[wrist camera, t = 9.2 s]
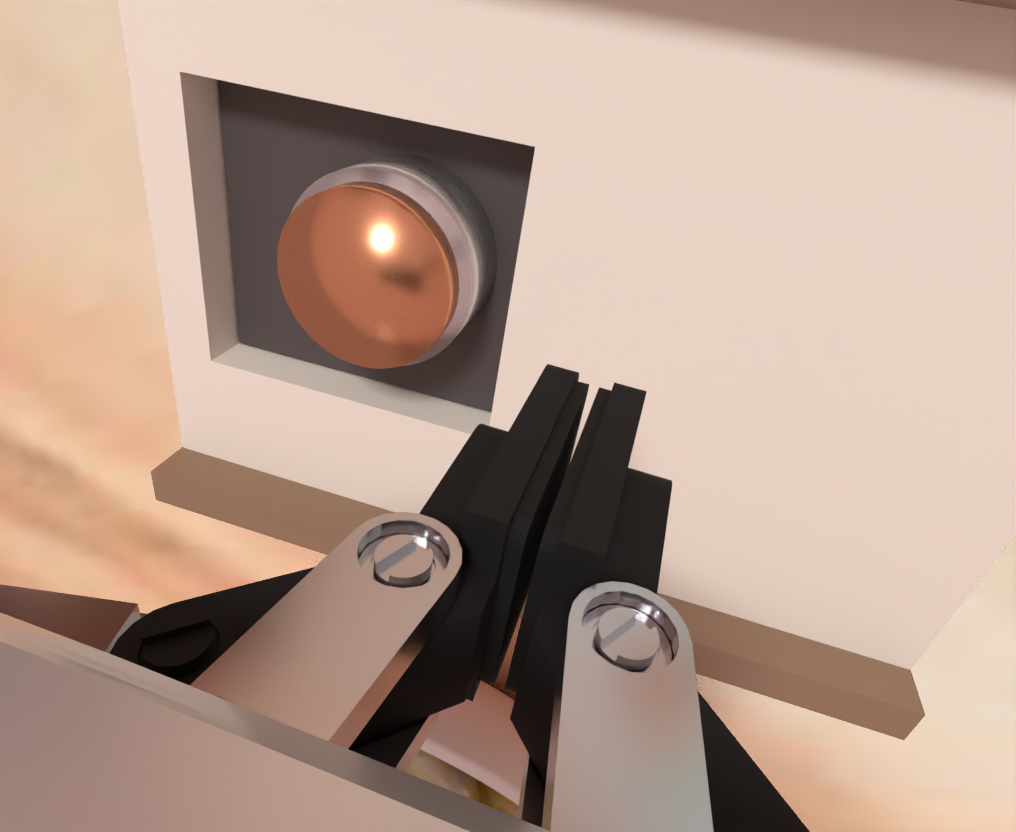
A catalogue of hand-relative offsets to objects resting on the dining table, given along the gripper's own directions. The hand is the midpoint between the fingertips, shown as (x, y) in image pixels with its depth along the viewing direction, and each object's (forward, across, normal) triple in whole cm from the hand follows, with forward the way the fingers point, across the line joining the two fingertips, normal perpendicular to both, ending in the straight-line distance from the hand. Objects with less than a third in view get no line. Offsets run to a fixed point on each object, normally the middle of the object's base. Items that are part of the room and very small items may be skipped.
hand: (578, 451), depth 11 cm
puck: (+7, +6, 0) cm, 9 cm away
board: (+7, +2, 0) cm, 8 cm away
